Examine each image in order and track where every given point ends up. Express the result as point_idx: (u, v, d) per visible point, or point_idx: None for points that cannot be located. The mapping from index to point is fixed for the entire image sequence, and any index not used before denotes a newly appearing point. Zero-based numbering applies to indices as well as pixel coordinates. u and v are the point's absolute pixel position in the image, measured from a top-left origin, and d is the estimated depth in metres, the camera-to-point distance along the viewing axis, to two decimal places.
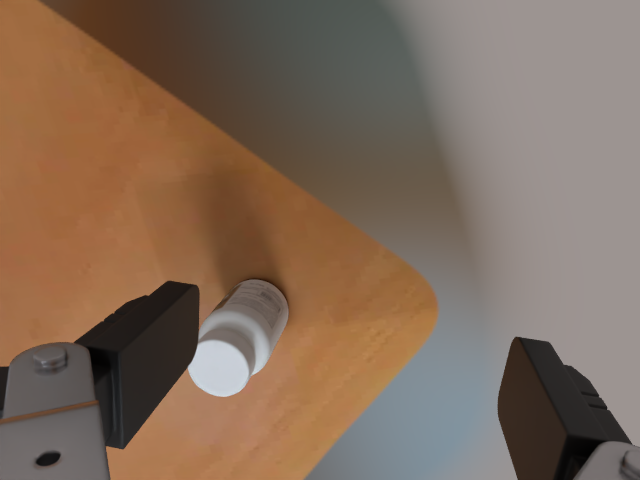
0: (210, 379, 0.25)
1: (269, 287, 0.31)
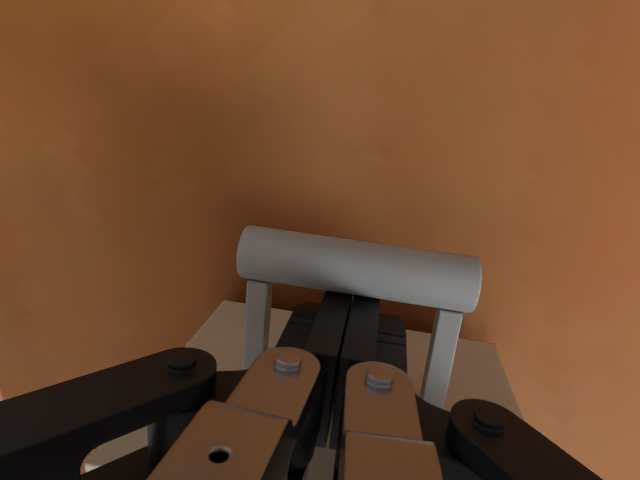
0: None
1: None
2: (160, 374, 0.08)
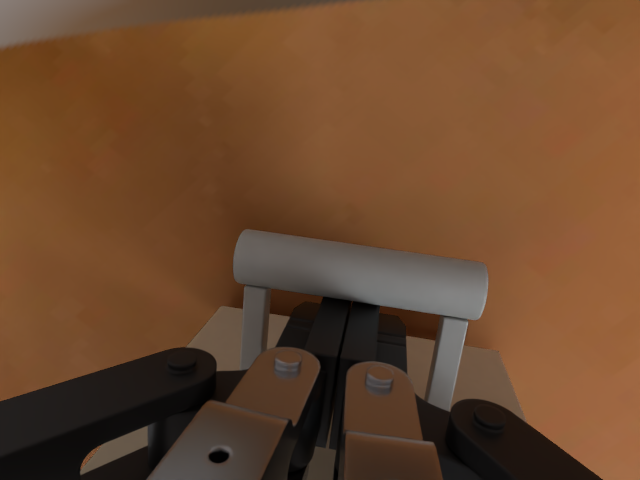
0: None
1: None
2: (160, 374, 0.08)
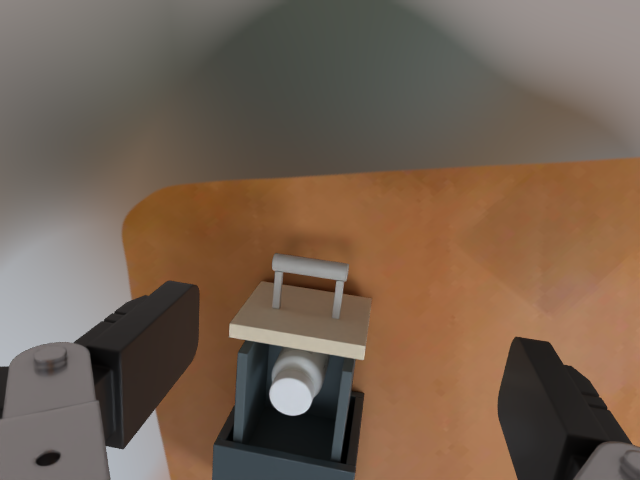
0: (291, 406, 0.37)
1: None
2: None
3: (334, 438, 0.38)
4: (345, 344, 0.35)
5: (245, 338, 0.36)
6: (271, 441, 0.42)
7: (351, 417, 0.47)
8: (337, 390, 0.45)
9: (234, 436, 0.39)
